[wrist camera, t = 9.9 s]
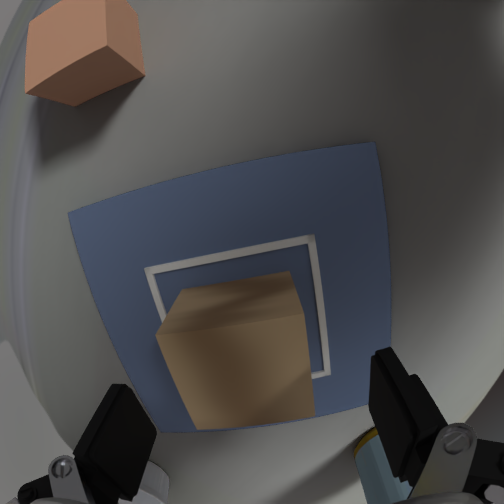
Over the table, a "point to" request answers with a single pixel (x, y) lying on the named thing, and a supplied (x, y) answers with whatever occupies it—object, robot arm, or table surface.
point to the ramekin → (151, 487)
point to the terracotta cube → (82, 50)
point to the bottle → (378, 472)
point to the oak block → (240, 352)
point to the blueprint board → (248, 263)
